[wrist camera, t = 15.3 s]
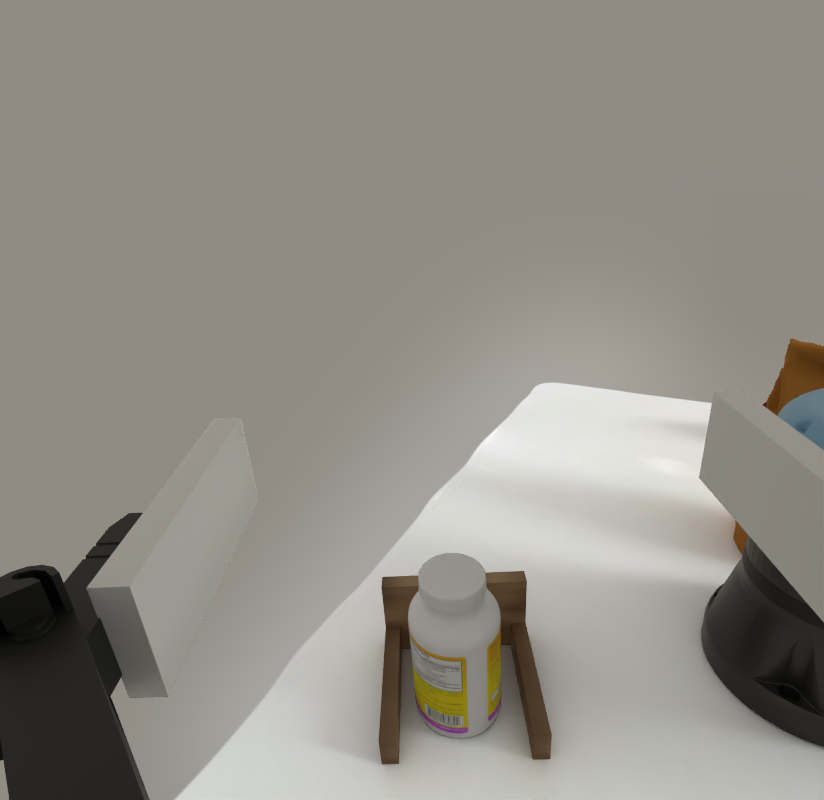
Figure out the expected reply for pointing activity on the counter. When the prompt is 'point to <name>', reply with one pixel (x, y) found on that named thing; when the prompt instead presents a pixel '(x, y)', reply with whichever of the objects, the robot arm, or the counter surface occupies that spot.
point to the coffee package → (792, 389)
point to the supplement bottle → (455, 646)
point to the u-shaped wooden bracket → (513, 632)
